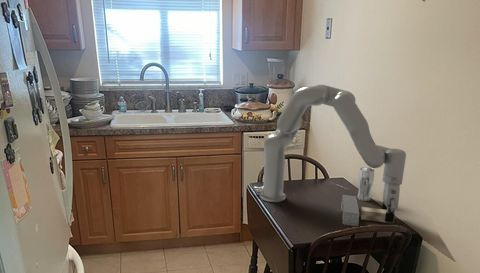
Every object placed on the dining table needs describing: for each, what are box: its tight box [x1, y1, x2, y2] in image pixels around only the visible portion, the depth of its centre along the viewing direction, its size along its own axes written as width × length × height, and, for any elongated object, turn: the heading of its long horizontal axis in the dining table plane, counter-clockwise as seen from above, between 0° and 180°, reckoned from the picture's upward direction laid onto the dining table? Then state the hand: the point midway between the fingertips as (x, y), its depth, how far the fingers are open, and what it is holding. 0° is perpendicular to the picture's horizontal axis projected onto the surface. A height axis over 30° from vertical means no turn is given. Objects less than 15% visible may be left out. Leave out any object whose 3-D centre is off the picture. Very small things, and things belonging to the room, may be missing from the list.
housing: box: [340, 194, 360, 227], centre depth 161 cm, size 6×19×6 cm, turn 167°
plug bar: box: [359, 206, 396, 224], centre depth 159 cm, size 13×4×4 cm, turn 77°
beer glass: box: [356, 166, 375, 202], centre depth 179 cm, size 7×7×15 cm
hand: (387, 216), depth 158 cm, fingers open, 9 cm apart
